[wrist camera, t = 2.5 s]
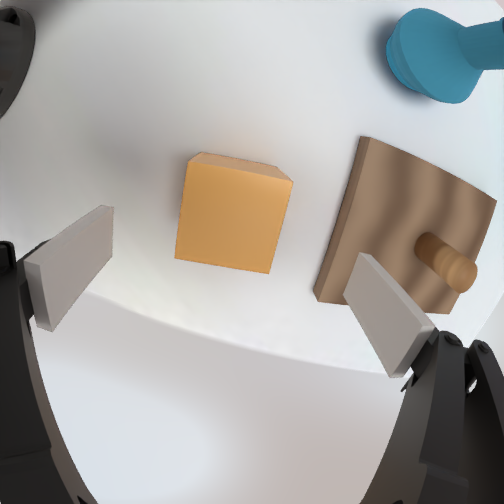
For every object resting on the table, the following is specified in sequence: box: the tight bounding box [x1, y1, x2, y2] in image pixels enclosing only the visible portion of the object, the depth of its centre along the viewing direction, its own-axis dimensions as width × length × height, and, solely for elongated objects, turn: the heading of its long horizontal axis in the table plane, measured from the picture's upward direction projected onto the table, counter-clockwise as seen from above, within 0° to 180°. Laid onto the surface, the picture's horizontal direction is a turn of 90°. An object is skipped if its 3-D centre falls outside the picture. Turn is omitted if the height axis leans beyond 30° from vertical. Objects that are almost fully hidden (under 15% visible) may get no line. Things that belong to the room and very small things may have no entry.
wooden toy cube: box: [174, 152, 293, 274], centre depth 21 cm, size 6×6×7 cm
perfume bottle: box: [386, 8, 504, 104], centre depth 12 cm, size 9×9×15 cm
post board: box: [313, 136, 497, 314], centre depth 23 cm, size 20×16×9 cm
